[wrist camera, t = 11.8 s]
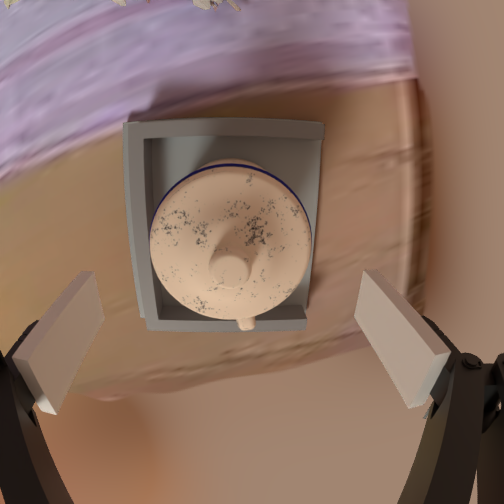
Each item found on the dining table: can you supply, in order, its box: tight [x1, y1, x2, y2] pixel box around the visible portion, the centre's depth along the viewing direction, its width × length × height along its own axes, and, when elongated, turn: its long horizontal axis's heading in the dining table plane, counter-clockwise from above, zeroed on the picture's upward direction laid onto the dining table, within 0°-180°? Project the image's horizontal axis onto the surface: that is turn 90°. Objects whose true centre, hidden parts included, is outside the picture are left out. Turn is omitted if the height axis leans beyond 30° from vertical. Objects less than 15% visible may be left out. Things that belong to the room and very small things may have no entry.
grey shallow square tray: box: [123, 117, 325, 332], centre depth 24 cm, size 18×16×3 cm
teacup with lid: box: [149, 158, 312, 330], centre depth 20 cm, size 12×9×12 cm
